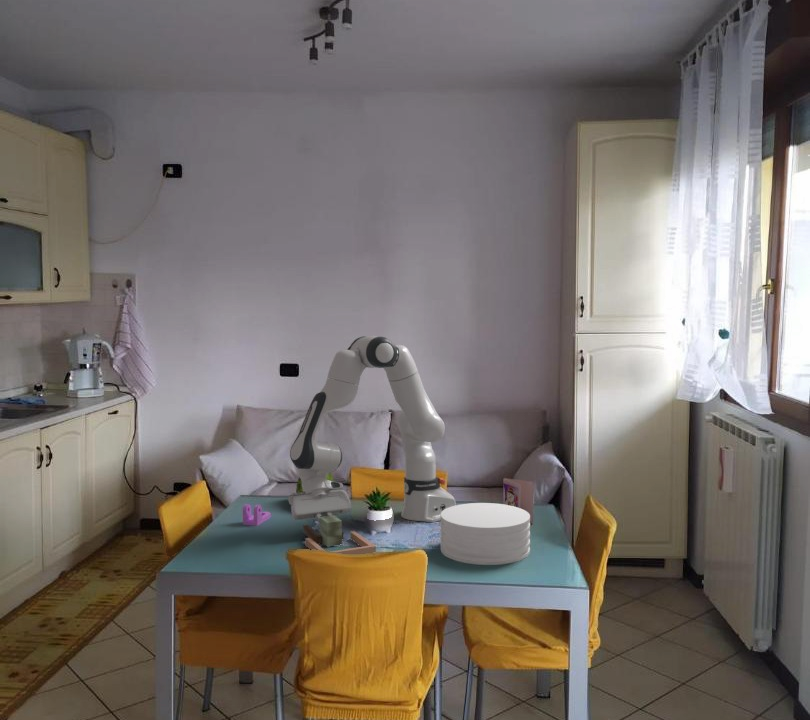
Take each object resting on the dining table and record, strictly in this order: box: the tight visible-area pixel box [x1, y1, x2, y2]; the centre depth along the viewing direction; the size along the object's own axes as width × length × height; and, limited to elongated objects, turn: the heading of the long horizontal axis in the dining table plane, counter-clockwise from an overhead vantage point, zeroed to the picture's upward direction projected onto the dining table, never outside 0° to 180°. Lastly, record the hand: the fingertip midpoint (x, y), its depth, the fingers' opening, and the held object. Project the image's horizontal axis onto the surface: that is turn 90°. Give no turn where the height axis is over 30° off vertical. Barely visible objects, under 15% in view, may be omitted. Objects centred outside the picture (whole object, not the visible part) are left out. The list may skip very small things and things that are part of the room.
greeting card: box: [502, 477, 534, 525], centre depth 278 cm, size 11×7×15 cm, turn 23°
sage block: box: [319, 515, 343, 548], centre depth 256 cm, size 5×7×8 cm
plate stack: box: [440, 502, 531, 566], centre depth 249 cm, size 28×28×12 cm
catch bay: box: [304, 530, 377, 554], centre depth 250 cm, size 17×18×2 cm
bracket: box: [242, 503, 272, 527], centre depth 283 cm, size 13×6×7 cm, turn 165°
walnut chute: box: [302, 524, 345, 545], centre depth 264 cm, size 9×14×2 cm, turn 26°
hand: (326, 526), depth 260 cm, fingers closed, pressing on sage block
